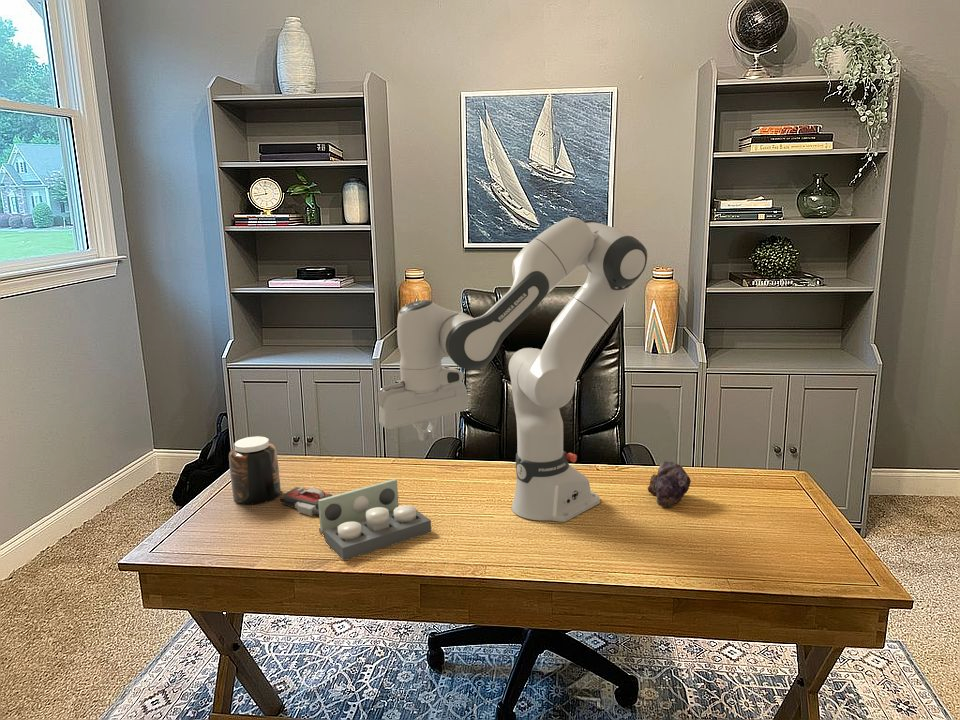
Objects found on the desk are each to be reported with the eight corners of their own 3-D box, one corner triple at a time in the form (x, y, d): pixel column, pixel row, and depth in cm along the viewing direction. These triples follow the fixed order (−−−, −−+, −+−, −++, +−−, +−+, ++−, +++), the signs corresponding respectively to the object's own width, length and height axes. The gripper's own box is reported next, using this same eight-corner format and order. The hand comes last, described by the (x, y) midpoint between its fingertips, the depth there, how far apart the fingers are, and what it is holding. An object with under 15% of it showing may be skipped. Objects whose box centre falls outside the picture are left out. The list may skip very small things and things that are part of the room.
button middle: (383, 523, 176) (382, 505, 175) (393, 531, 172) (392, 513, 171) (363, 529, 174) (361, 511, 172) (373, 537, 169) (372, 519, 168)
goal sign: (395, 509, 188) (393, 477, 185) (400, 513, 185) (398, 481, 183) (319, 531, 177) (316, 498, 175) (324, 536, 174) (321, 502, 172)
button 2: (410, 520, 180) (409, 503, 179) (420, 528, 176) (419, 511, 175) (390, 526, 178) (389, 509, 177) (401, 535, 174) (400, 517, 172)
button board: (410, 516, 183) (409, 505, 183) (431, 532, 175) (430, 520, 174) (325, 543, 171) (324, 530, 171) (343, 560, 163) (342, 548, 163)
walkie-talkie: (273, 508, 191) (336, 524, 181) (272, 492, 190) (335, 507, 180) (297, 495, 198) (358, 509, 189) (295, 479, 197) (357, 493, 188)
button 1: (356, 537, 173) (355, 519, 172) (366, 546, 169) (365, 527, 168) (335, 544, 170) (333, 525, 169) (344, 553, 166) (343, 534, 165)
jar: (255, 508, 190) (249, 452, 186) (224, 499, 196) (217, 445, 192) (289, 491, 200) (284, 438, 196) (258, 483, 206) (253, 431, 202)
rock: (651, 512, 185) (693, 512, 184) (651, 482, 181) (694, 482, 180) (646, 486, 196) (685, 486, 194) (646, 457, 192) (687, 457, 191)
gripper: (383, 390, 153) (389, 454, 156) (469, 371, 163) (473, 431, 166) (370, 384, 158) (376, 446, 161) (454, 365, 168) (458, 424, 172)
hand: (426, 438), depth 164 cm, fingers closed
